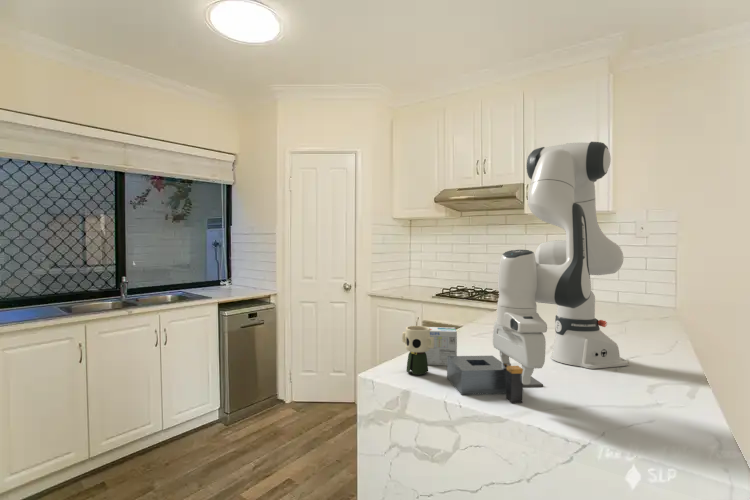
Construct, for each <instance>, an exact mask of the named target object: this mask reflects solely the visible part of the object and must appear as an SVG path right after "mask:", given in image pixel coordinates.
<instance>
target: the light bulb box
mask: <svg viewBox="0 0 750 500" xmlns="http://www.w3.org/2000/svg"><path fill="white" fill-rule="evenodd" d="M428 327H429V328H430V336H431V337H433V338H434V348H430V349H429V351H426V352H425V353H426V355H427V363H428V366H447V356H458V333H457V332H458V331H457V329H456V327H449V326H447V327H446V326H445V327H444V326H441V327H440V326H428ZM430 345H431V340H430Z"/></svg>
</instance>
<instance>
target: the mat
mask: <svg viewBox="0 0 750 500" xmlns="http://www.w3.org/2000/svg"><path fill="white" fill-rule="evenodd" d="M531 387H532V388H534V387H537V388H539V387H540V388H541V387H544V383H542V382H540V381H539V380H537V379H536V378H534V377H533V376H531V379H530V384H528V385H524V384H523V388H531Z"/></svg>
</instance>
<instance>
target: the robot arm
mask: <svg viewBox="0 0 750 500" xmlns="http://www.w3.org/2000/svg"><path fill="white" fill-rule="evenodd" d="M611 158H612V157H611V153H610V151H609V148H608V146H607V144H605V143H604V142H601V141H600V142H599V141H590V142H569V143H568V142H567V143H563V144H558V145H557V144H556V145H552V146H546V147H545V146H542V147H541V146H540V147H538V148H535V149H533V150H532V151H531V152H530V154H529V155H528V157H527V158H526V173H527V177H528V178H529V179H530V184H529V189H528V194H527V195H528V196H527V206H528V209H529V210H530V212H531V213H532V215H534V216H535V217H536V218H538V219H539V220H541V221H542V222H544V223H547V224H550V225H553V226H556V227H559V228H561V229H562V230H564V231H565V240H559V239H558V240H550V241H545V242H541V243H540V244H539V245H538V246H537V247H536V249H535V251H533V250H530V249H515V250H514V249H513V250H507V251H505V252H503V253H502V254H501V256H500V259H499V263H498V270H497V271H498V272H497V290H498V298H497V299H498V300H497V304H496V305H497V306H496V307H497V308H496V320H495V321H494V324H493V332H492V345H493V348H494V349H496V350H498V351H499V357H500V361H501V362H502V369H503V370H504V371H507V366H512V363H510V358H511V359H512V360H514V361H515V362H517V363H518V364H520V365H521V368H522V369H523V372H522V375H520V382H521V383H523V384H524V385H528V384H530V379H531V377H532V374H533V373H534V371H535V369H542V368H543V367H544V365H545V361H546V345H547V343H546V341H547V340H546V336H545V334H544V333H547V332H548V324H547V322H546V321H545V320H543V318H542V317H541V316H540V315H539V313H538V312H537V303H538V304H540V303H541V304H549V305H555V306H556V315H555V318H554V319H555V321H554V330H555V339H554V344H553V348H552V351H551V354H550V359H551V360H553V361H555V362H558V363H562V364H566V365H569V366H570V365H571V366H575V367H581V368H586V369H590V370H591V369H592V370H593V369H594V370H595V369H605V368H615V367H616V368H618V367H626V366H629V361H628V360H626V359H625V358H623V357H621V355H620V349H619V346H618V344H617V343H616V342H615V341H614V340H613V339H611V338H610V337H609V336H608V335H607V334H605V333H604V332H603V331H602V330H601V328H600V327H602V328H606V327H607V325H608V322H607V321H606V320H603V319H597V318H596V317H595V316H596V296H595V294H594V292H593V291H592V285H591V284H592V283H591V282H592V281H591V276H605V275H612V274H613V275H614V274H616V273H617V272H619V270H621V267H622V265H624V253H623V251H622V248H621V246H620V245H618V244H617V243H616V242H614V241H613V240H611V239H609V237H607V235H605V234H604V232H603V231H602V229H601V227H600V225H599V222H598V218H597V217H598V216H597V209H596V206H597V203H596V185H595V182H597V180H600V179H602V178H603V177H604V176H605V175H607V173H608V171H609V168H610V165H611V160H612V159H611Z"/></svg>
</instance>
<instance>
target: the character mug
mask: <svg viewBox="0 0 750 500" xmlns="http://www.w3.org/2000/svg"><path fill="white" fill-rule="evenodd" d="M429 327H430V326H425V325H409V326H406V327H405V331H402V335H401V341H402V343H404V346H405V349H406V350H407V351H408V352H409V353H408V355H407V356H408V357H407V361H406V373H408V374H410V373H411V372H412V375H424V374H426V373H428V372H429V365H428V363H427V355H426V353H425V352H426V351H429V349H430V348H434V338H433V337H431V336H430V328H429ZM430 340H431V345H430Z"/></svg>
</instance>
